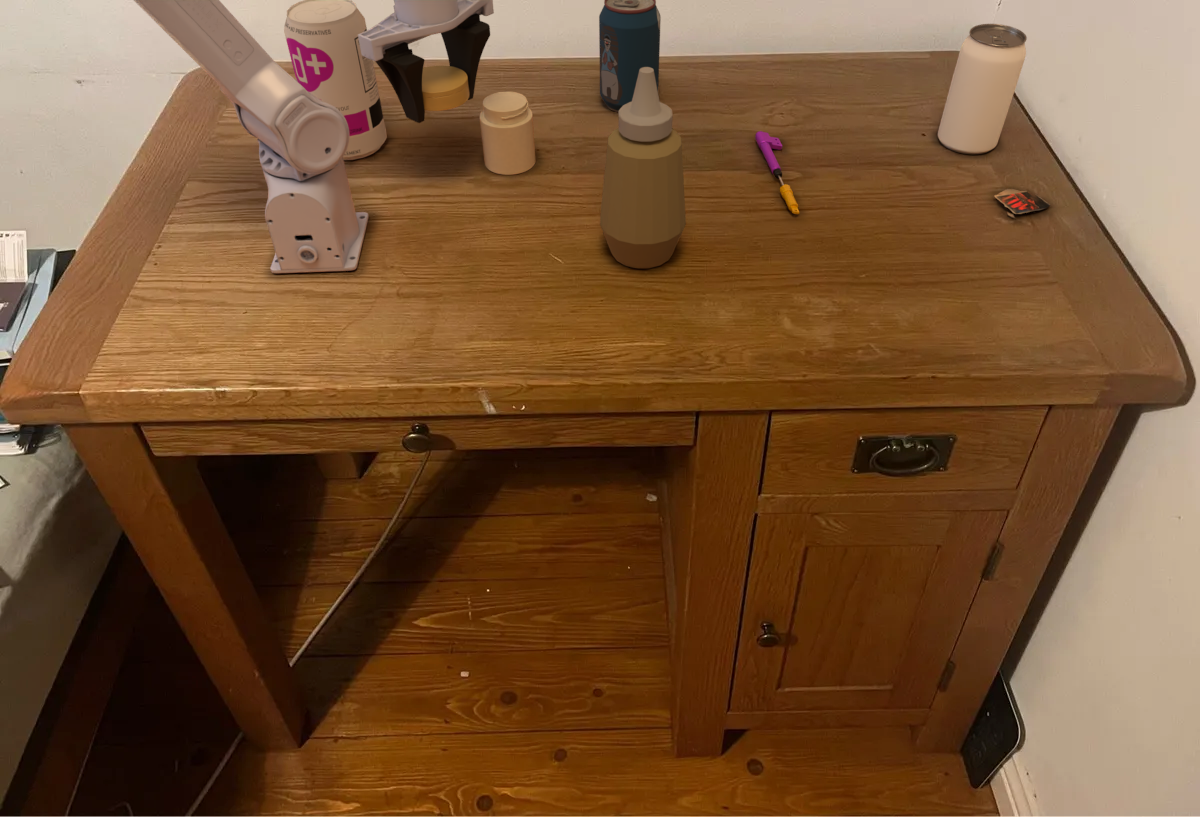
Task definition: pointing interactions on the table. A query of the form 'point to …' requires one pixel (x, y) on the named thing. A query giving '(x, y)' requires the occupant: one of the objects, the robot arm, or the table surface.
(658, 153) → the squeeze bottle
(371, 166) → the table surface
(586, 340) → the table surface
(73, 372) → the table surface
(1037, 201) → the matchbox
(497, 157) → the jar
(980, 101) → the can
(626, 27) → the soda can
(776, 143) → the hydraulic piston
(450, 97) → the lid
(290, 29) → the supplement can
